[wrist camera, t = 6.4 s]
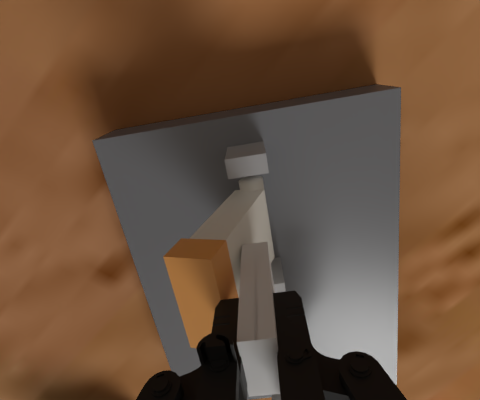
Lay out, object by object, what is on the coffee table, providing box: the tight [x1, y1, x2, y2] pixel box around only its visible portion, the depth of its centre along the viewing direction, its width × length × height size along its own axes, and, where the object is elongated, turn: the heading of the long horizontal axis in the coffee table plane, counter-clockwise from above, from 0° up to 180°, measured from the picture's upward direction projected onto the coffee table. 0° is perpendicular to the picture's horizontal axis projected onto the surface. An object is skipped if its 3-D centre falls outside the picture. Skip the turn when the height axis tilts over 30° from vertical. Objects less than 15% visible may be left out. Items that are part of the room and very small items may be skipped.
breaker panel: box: [93, 84, 401, 400], centre depth 26 cm, size 20×26×7 cm
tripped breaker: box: [163, 176, 275, 348], centre depth 19 cm, size 2×6×10 cm, turn 10°
